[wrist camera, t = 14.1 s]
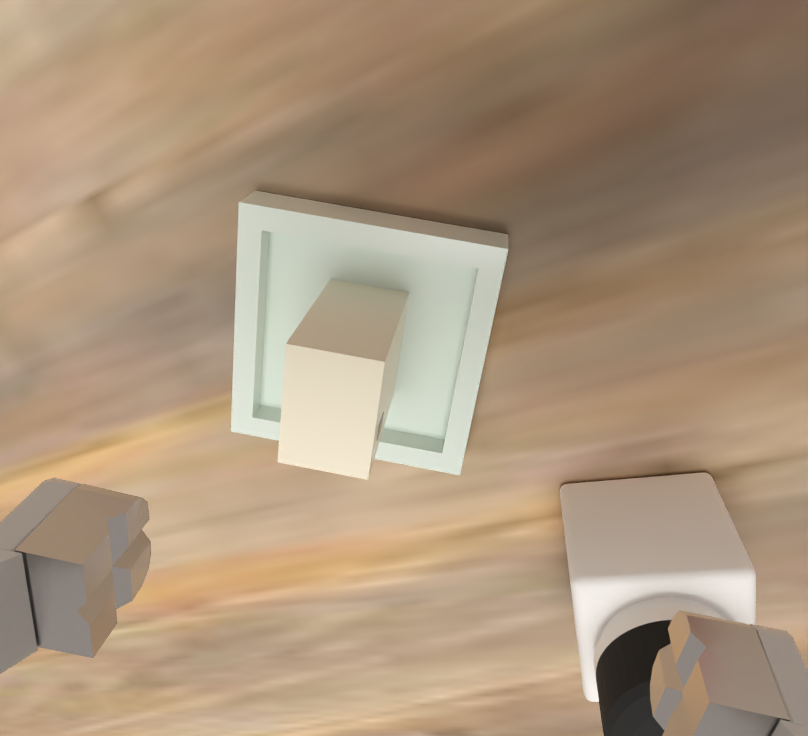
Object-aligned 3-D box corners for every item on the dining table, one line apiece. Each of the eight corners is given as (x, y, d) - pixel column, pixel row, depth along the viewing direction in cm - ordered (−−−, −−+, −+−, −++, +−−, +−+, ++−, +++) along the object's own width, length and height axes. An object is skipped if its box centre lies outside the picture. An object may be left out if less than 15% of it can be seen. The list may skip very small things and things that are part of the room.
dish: (508, 234, 30) (508, 249, 28) (462, 449, 35) (459, 475, 33) (255, 190, 30) (238, 202, 28) (246, 408, 35) (231, 431, 33)
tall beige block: (410, 292, 30) (385, 361, 24) (394, 392, 33) (368, 479, 27) (329, 278, 31) (284, 343, 24) (320, 379, 33) (276, 462, 27)
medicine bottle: (571, 591, 38) (598, 814, 27) (558, 481, 35) (582, 683, 24) (712, 583, 36) (798, 816, 26) (710, 468, 34) (807, 677, 23)
